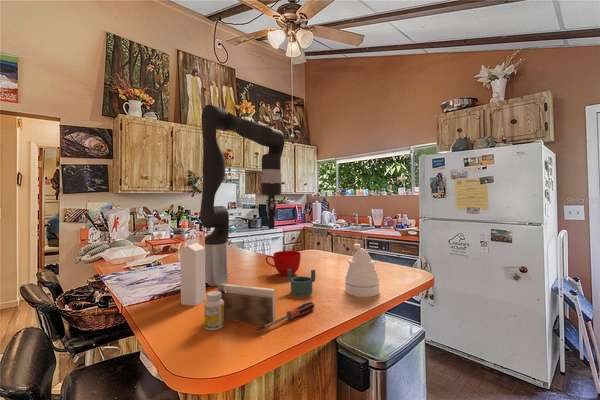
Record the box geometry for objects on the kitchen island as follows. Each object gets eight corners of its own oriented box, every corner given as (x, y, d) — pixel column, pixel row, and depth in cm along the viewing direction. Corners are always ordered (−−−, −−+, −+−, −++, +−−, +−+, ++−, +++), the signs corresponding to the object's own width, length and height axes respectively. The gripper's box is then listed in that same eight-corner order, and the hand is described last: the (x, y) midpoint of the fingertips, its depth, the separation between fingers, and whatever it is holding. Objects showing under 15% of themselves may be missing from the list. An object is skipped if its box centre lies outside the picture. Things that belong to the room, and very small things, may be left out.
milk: (180, 304, 101) (179, 241, 100) (191, 298, 107) (189, 238, 106) (196, 306, 99) (194, 241, 99) (206, 299, 105) (204, 239, 105)
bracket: (317, 293, 111) (317, 270, 111) (296, 297, 106) (296, 273, 106) (305, 287, 119) (305, 265, 119) (285, 291, 114) (285, 268, 114)
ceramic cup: (269, 270, 147) (269, 250, 147) (302, 271, 144) (302, 251, 144) (262, 277, 134) (262, 255, 134) (298, 278, 131) (298, 256, 131)
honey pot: (338, 291, 113) (338, 245, 112) (356, 284, 122) (356, 241, 122) (368, 299, 104) (367, 249, 104) (385, 290, 113) (384, 244, 113)
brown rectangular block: (212, 317, 90) (212, 293, 89) (221, 312, 94) (220, 288, 94) (270, 325, 83) (269, 299, 83) (276, 319, 87) (276, 295, 87)
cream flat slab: (215, 314, 91) (215, 285, 91) (221, 311, 94) (220, 282, 94) (272, 322, 85) (272, 291, 84) (276, 318, 87) (275, 288, 87)
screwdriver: (259, 338, 76) (259, 327, 76) (251, 335, 78) (251, 324, 78) (316, 310, 95) (316, 301, 95) (309, 307, 97) (309, 298, 97)
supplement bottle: (211, 332, 79) (211, 297, 79) (200, 327, 83) (200, 293, 83) (227, 326, 83) (227, 292, 83) (217, 321, 87) (216, 289, 87)
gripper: (260, 182, 114) (260, 226, 115) (261, 181, 101) (261, 231, 101) (279, 182, 115) (279, 226, 116) (283, 181, 102) (282, 230, 103)
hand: (271, 228), depth 109 cm, fingers closed
